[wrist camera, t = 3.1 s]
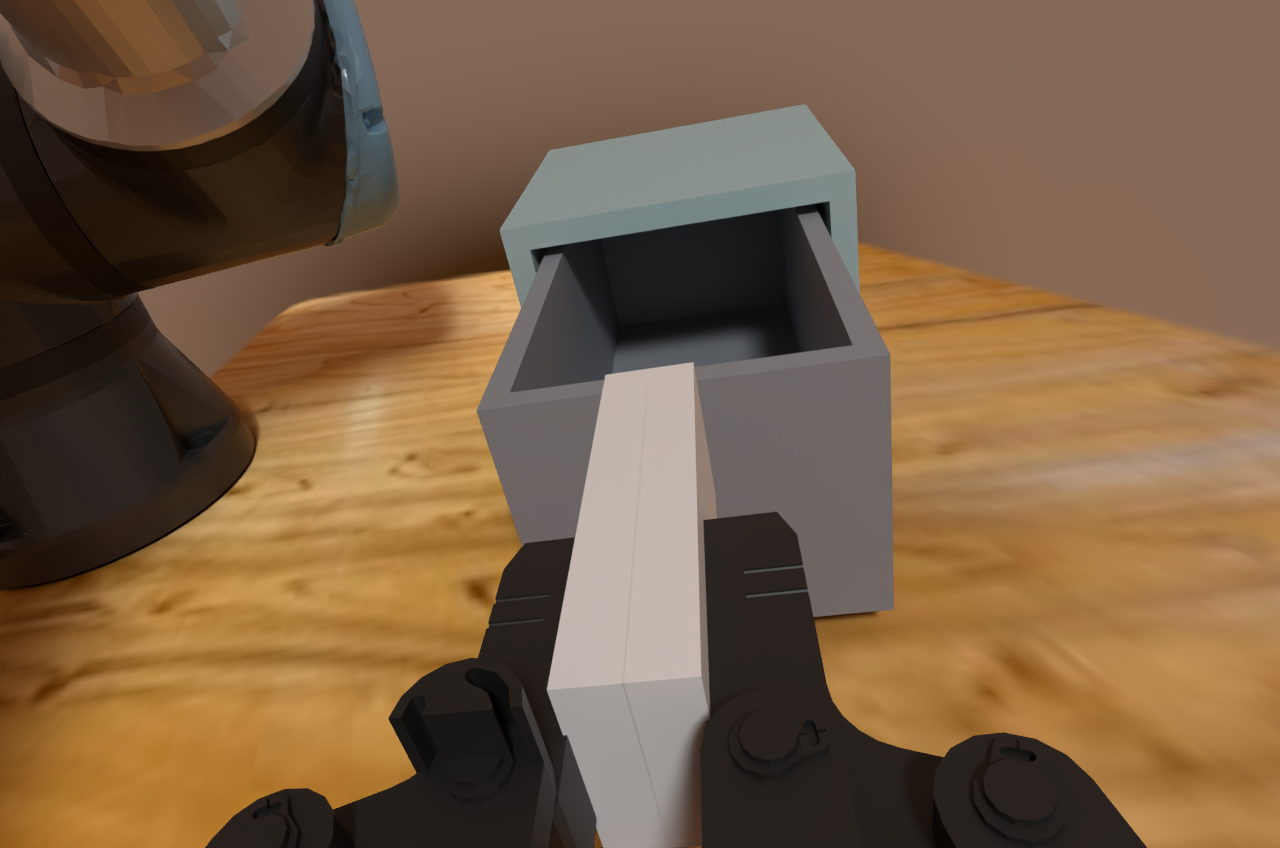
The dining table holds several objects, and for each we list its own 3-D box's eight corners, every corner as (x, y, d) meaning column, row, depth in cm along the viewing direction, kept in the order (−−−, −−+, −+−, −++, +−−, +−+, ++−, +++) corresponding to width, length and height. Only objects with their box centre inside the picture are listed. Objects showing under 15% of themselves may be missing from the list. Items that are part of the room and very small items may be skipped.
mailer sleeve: (864, 435, 35) (855, 170, 29) (567, 471, 37) (499, 230, 31) (818, 311, 47) (805, 104, 41) (594, 343, 49) (549, 150, 43)
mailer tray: (893, 609, 25) (889, 354, 20) (554, 641, 26) (476, 410, 22) (798, 308, 45) (785, 146, 40) (609, 335, 47) (576, 182, 42)
